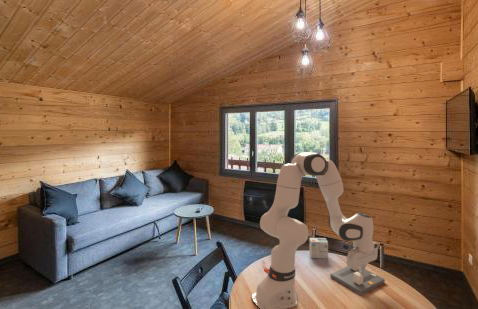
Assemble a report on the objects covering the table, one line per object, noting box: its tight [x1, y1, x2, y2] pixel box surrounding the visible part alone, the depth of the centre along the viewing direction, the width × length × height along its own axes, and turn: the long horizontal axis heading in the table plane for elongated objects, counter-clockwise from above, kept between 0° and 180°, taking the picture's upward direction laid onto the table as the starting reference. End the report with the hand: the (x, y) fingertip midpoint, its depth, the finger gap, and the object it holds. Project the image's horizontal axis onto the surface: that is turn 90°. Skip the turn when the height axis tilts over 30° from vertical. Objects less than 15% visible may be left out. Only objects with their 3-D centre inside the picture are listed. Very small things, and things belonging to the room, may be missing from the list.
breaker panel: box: [329, 265, 386, 296], centre depth 135 cm, size 20×18×2 cm
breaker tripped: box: [353, 272, 363, 285], centre depth 129 cm, size 3×4×4 cm
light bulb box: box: [308, 237, 329, 259], centre depth 161 cm, size 11×7×11 cm, turn 84°
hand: (361, 271), depth 129 cm, fingers closed
